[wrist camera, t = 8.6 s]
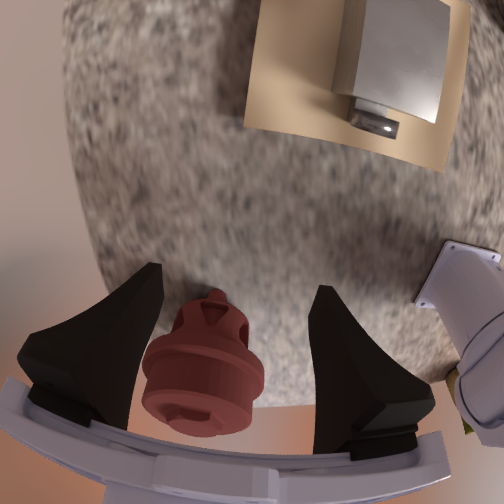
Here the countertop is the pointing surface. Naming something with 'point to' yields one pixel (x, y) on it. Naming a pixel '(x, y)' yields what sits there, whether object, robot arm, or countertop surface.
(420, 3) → the block
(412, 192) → the countertop surface
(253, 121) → the stand
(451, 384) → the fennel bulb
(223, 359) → the mechanical component
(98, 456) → the robot arm
